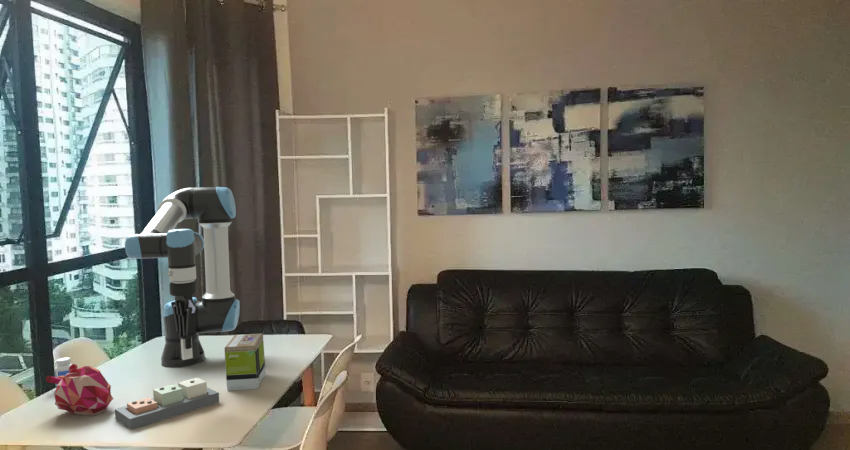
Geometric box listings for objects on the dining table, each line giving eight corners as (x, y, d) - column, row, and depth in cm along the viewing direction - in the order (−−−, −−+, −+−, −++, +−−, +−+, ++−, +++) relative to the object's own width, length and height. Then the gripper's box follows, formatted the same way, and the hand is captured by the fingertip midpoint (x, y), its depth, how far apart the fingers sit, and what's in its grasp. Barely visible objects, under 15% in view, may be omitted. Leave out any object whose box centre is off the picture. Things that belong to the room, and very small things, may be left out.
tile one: (178, 395, 183) (178, 381, 183) (197, 390, 188) (197, 376, 187) (187, 400, 179) (187, 386, 179) (207, 394, 184) (206, 380, 183)
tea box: (236, 375, 208) (234, 333, 207) (266, 374, 209) (264, 332, 208) (226, 391, 193) (223, 346, 192) (258, 389, 194) (256, 344, 193)
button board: (115, 419, 172) (114, 408, 172) (202, 393, 191) (201, 384, 191) (130, 429, 165) (129, 419, 165) (219, 402, 184) (218, 392, 184)
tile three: (127, 417, 173) (126, 402, 172) (149, 410, 177) (148, 396, 177) (136, 422, 168) (135, 407, 168) (157, 416, 173) (157, 401, 172)
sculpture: (130, 401, 184) (86, 371, 191) (120, 377, 176) (75, 346, 183) (90, 436, 175) (45, 403, 181) (78, 412, 167) (31, 378, 173)
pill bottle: (78, 386, 201) (76, 357, 200) (64, 391, 196) (62, 362, 195) (66, 384, 203) (64, 356, 202) (52, 389, 198) (49, 360, 197)
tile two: (153, 402, 178) (153, 388, 177) (173, 396, 182) (173, 382, 182) (162, 407, 174) (161, 393, 173) (183, 401, 178) (182, 387, 178)
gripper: (161, 280, 181) (165, 357, 184) (180, 285, 172) (184, 366, 175) (185, 276, 187) (189, 351, 189) (205, 281, 178) (209, 359, 180)
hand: (187, 358), depth 182 cm, fingers closed
